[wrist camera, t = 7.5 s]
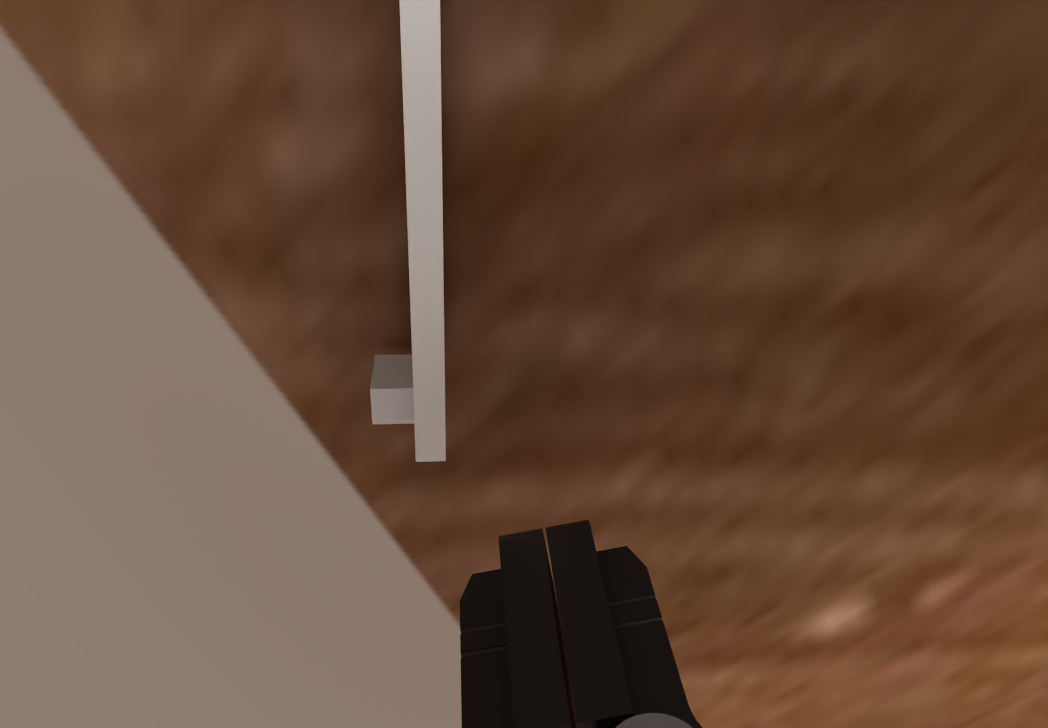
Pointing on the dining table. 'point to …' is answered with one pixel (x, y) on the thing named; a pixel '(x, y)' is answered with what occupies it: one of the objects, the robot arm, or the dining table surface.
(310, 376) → the dining table surface
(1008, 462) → the dining table surface
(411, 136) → the side door
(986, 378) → the dining table surface
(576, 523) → the robot arm
